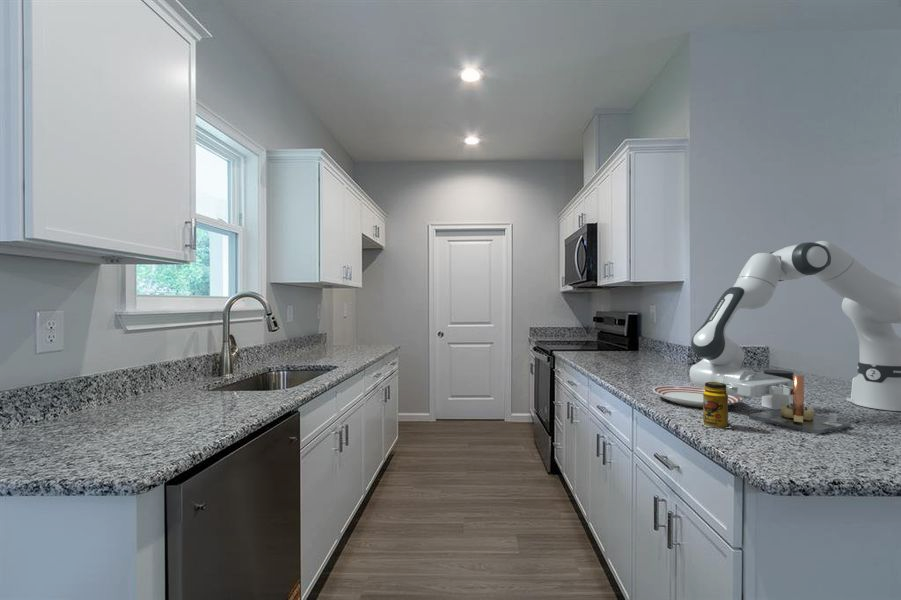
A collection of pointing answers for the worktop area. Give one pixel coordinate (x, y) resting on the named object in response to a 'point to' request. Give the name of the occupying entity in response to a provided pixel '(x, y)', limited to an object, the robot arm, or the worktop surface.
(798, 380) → the copper and beige l-shape
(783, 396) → the jar
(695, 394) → the dinner plate
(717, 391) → the condiment
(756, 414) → the post base
